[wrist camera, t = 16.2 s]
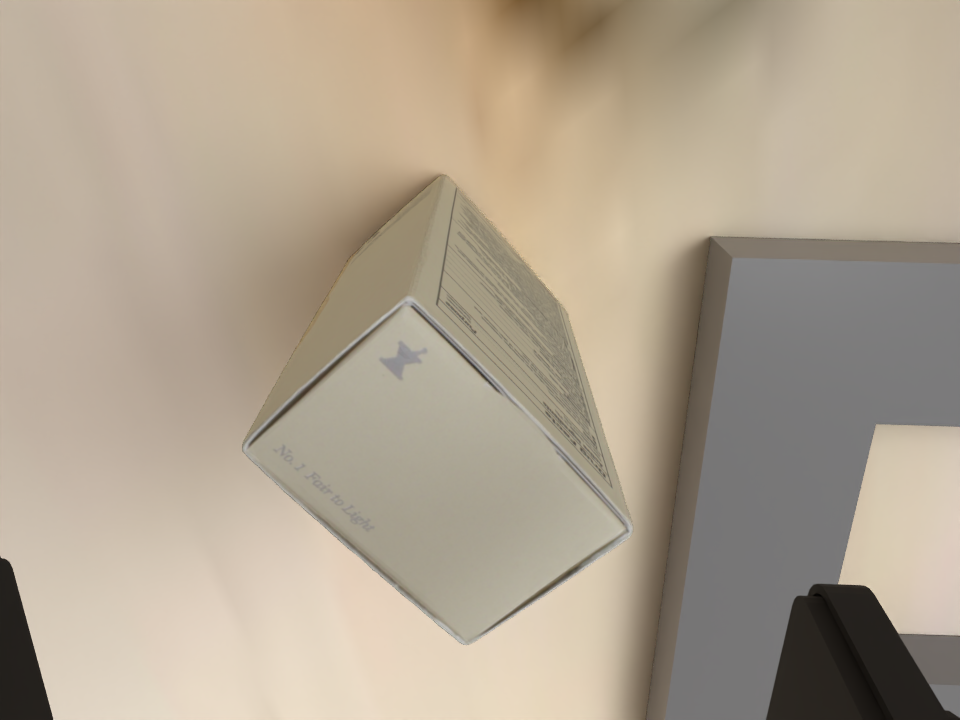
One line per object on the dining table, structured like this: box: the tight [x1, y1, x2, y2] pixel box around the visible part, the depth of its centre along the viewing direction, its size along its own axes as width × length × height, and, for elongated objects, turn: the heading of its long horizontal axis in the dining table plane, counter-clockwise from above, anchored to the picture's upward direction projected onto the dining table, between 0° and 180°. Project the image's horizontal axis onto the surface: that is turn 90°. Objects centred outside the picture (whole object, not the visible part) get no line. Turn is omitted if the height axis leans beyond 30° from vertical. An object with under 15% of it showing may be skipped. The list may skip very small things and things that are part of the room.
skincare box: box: [242, 175, 633, 645], centre depth 20 cm, size 6×4×12 cm
